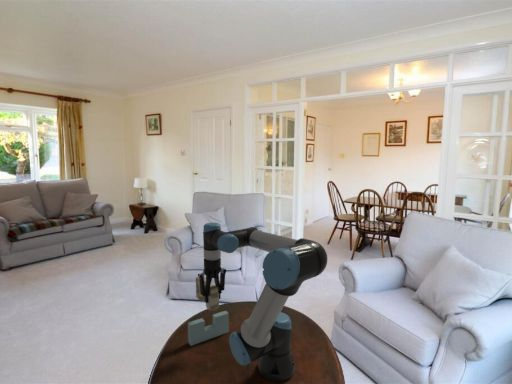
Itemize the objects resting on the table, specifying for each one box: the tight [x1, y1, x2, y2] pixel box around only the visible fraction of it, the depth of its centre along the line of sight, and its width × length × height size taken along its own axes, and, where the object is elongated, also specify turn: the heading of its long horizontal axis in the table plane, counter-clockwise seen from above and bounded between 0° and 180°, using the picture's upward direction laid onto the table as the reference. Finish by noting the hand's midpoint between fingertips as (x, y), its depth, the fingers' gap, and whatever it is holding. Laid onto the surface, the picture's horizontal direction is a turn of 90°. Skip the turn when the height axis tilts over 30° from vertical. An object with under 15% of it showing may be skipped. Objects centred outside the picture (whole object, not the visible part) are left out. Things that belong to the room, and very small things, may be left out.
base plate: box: [187, 310, 230, 347], centre depth 145 cm, size 20×3×10 cm, turn 124°
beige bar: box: [195, 276, 219, 312], centre depth 141 cm, size 16×4×10 cm, turn 36°
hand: (212, 307), depth 137 cm, fingers closed on beige bar, 3 cm apart
